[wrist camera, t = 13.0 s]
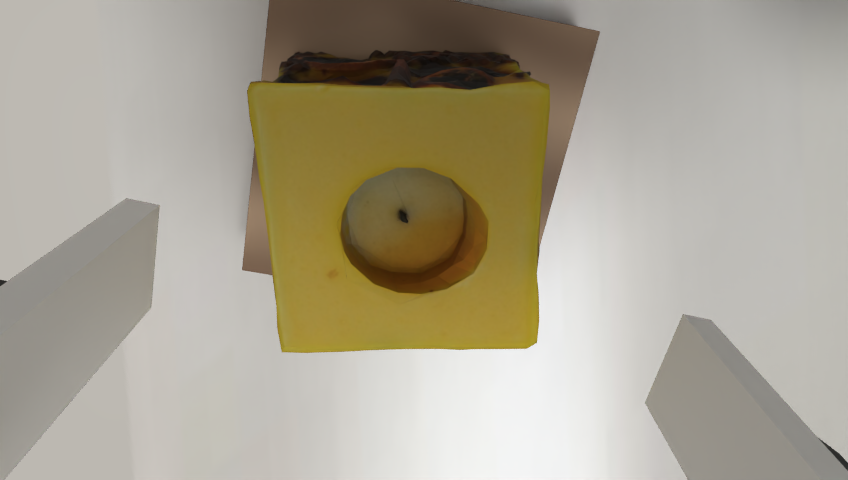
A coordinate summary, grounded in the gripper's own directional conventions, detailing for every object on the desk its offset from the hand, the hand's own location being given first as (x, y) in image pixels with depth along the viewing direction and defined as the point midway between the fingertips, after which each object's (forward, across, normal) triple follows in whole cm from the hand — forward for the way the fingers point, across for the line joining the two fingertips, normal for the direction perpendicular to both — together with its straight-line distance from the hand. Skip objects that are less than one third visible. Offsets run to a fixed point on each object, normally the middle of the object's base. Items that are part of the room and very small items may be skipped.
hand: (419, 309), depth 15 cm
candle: (+16, -1, 0) cm, 17 cm away
